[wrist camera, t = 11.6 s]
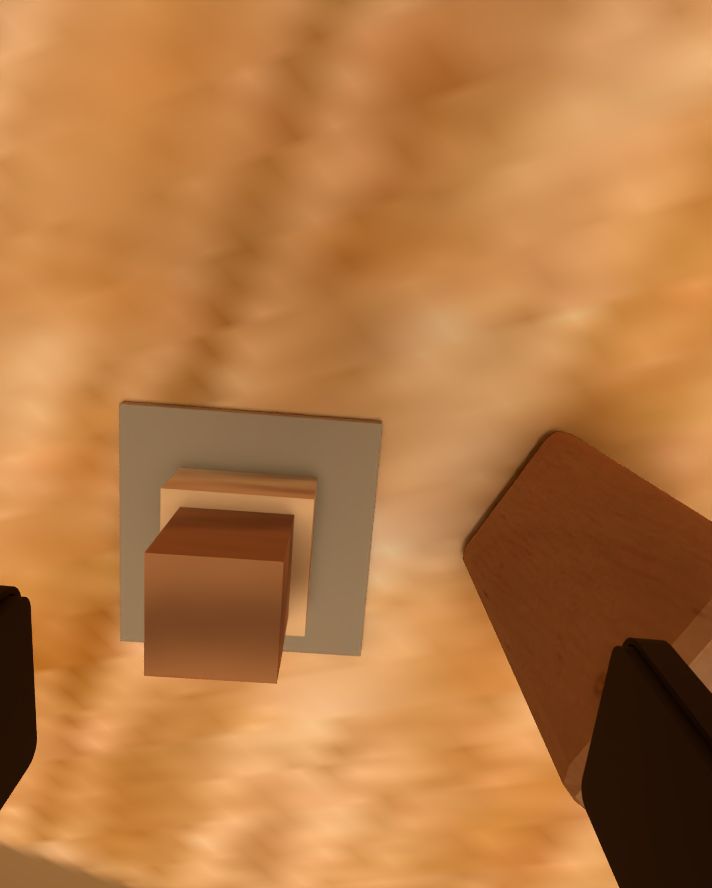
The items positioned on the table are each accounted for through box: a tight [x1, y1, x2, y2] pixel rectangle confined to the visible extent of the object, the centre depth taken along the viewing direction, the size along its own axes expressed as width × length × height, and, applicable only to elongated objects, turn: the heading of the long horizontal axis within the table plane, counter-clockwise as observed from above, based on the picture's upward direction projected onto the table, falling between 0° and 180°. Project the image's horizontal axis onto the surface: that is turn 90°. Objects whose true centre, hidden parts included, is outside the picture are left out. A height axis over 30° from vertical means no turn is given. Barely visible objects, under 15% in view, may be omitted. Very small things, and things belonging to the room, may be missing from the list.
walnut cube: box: [144, 507, 294, 684], centre depth 31 cm, size 6×6×6 cm
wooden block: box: [463, 432, 712, 809], centre depth 29 cm, size 10×10×20 cm
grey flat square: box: [119, 401, 382, 656], centre depth 38 cm, size 15×15×1 cm
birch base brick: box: [160, 468, 317, 637], centre depth 36 cm, size 8×8×4 cm
